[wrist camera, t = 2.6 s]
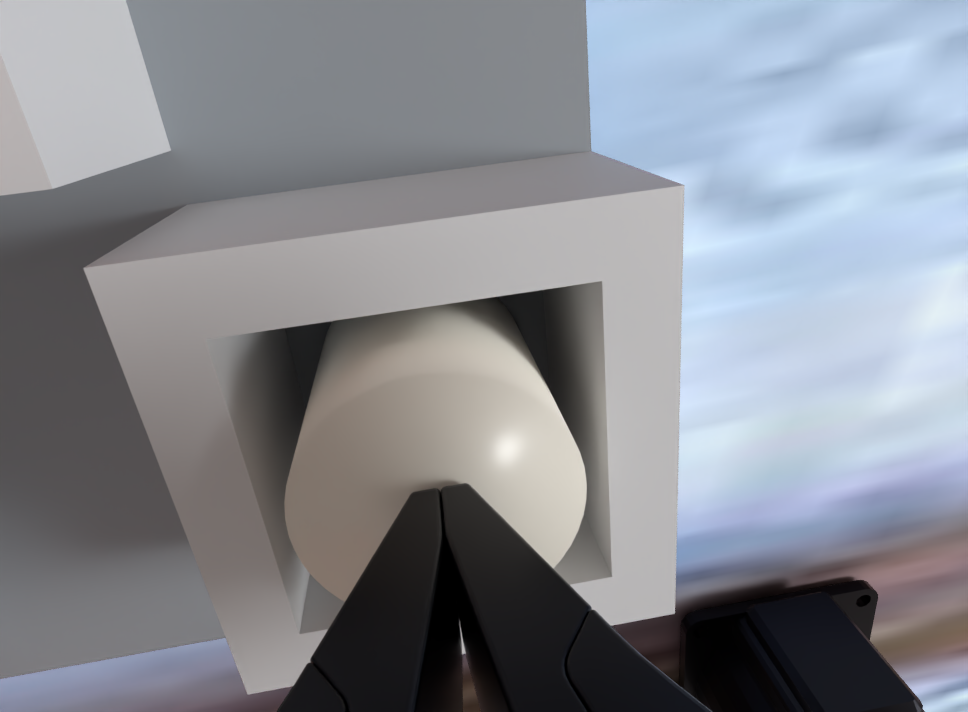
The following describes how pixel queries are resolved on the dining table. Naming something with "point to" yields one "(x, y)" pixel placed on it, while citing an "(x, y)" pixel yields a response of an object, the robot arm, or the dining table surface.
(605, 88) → the dining table surface
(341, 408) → the plug
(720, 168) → the dining table surface
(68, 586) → the panel
